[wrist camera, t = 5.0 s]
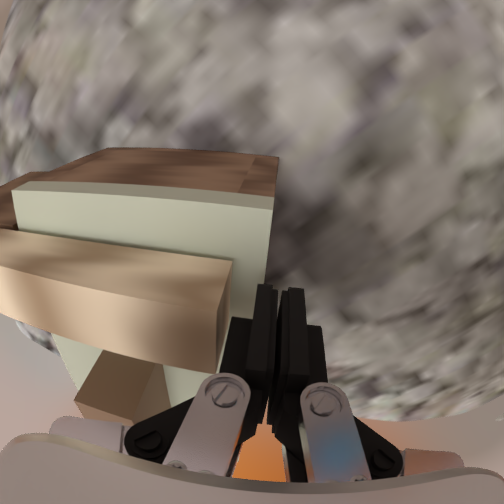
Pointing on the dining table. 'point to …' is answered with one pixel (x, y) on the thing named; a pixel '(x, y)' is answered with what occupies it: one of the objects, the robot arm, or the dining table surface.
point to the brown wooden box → (157, 173)
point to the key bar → (118, 297)
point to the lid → (157, 239)
